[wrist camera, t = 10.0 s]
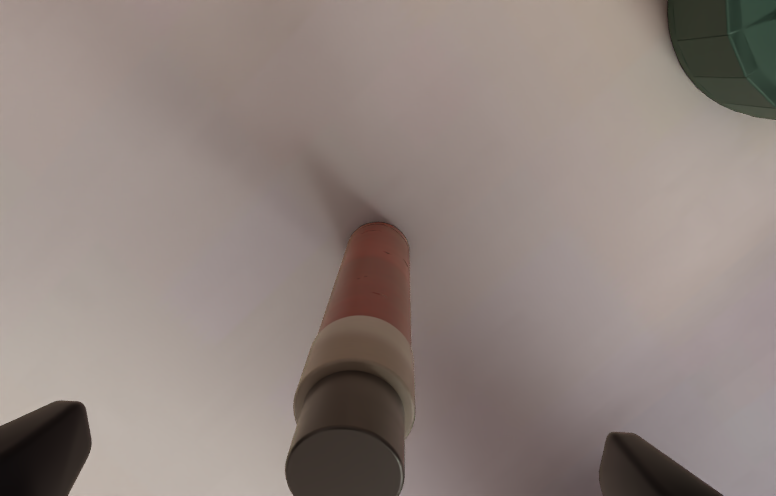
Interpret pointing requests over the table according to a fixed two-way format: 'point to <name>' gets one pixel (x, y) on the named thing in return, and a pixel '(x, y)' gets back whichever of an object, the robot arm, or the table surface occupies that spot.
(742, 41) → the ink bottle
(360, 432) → the capped glue stick
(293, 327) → the table surface
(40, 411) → the robot arm
